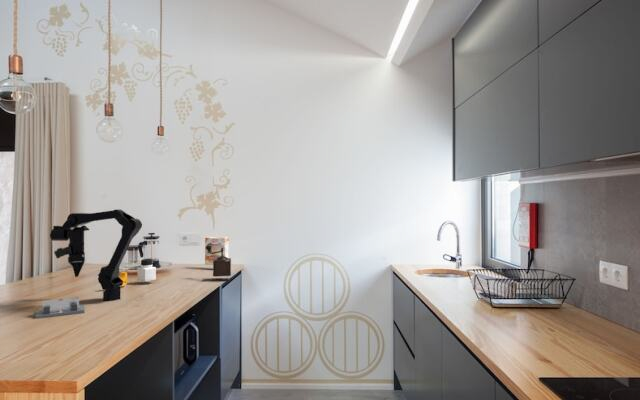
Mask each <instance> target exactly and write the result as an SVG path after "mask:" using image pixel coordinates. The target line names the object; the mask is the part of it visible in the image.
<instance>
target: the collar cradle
mask: <svg viewBox="0 0 640 400" xmlns="http://www.w3.org/2000/svg"><path fill="white" fill-rule="evenodd" d="M84 313H85V304H79V309H77V304H71V310H65V311H57V312H50V307H44V308H43V312H42V309H37V310H36V313H35V316H34V319H37V320H38V319H43V318H45V319H46V318H52V317H62V316H68V315H78V314H84Z"/></svg>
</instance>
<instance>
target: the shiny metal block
mask: <svg viewBox="0 0 640 400" xmlns="http://www.w3.org/2000/svg"><path fill="white" fill-rule="evenodd" d="M41 303H42V304H41V306H42V307H41V310H42V312H43V308H44V307H50V312H57V311H65V310H71V304H77V309H79V305H80V297H78V296H72V297H65V298H58V299H57V298H55V299H49V300H42V302H41Z"/></svg>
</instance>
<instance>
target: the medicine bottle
mask: <svg viewBox="0 0 640 400" xmlns="http://www.w3.org/2000/svg"><path fill="white" fill-rule="evenodd" d="M153 265H154V262H153V259H152V258H143V259H141V260H140V267H137V281H139V282H145V283H146V282H150V281H156V280H157V267H156V266H153Z"/></svg>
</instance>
